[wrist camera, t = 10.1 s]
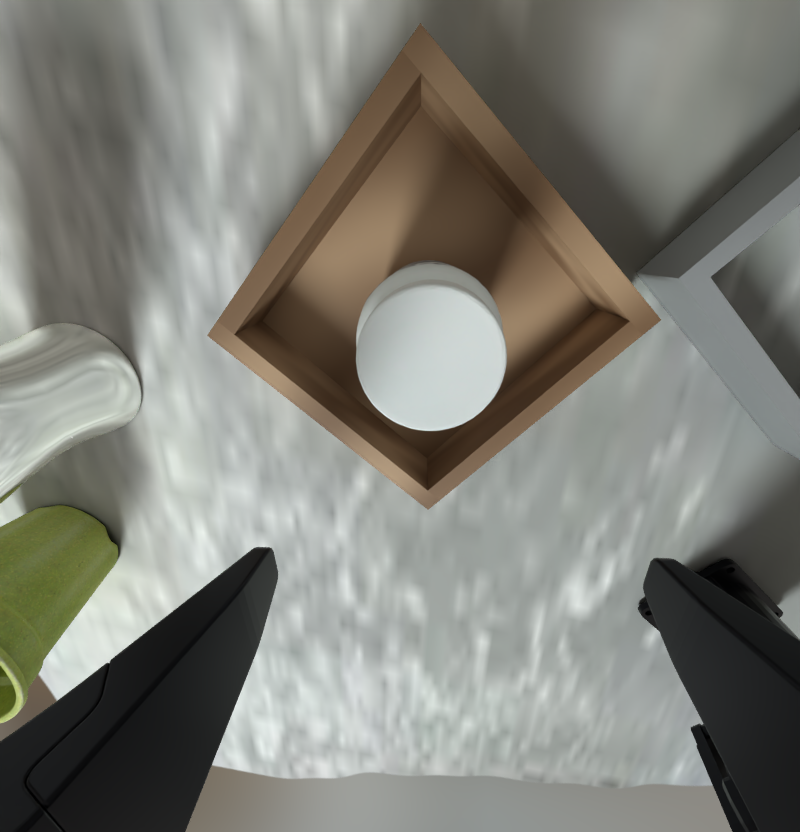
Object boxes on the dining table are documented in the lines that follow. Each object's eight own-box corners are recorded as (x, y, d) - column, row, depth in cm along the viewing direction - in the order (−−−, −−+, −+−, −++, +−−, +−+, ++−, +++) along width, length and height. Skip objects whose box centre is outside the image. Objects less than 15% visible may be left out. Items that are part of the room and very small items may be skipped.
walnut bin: (616, 306, 17) (661, 319, 14) (426, 470, 22) (428, 509, 18) (420, 73, 14) (420, 23, 11) (244, 319, 18) (207, 335, 15)
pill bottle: (459, 373, 18) (486, 462, 11) (366, 349, 18) (327, 423, 10) (492, 274, 16) (553, 296, 9) (389, 246, 16) (359, 244, 9)
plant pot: (-5, 551, 26) (-188, 683, 18) (12, 455, 23) (-206, 568, 15) (125, 605, 28) (9, 746, 20) (160, 523, 24) (35, 656, 16)
